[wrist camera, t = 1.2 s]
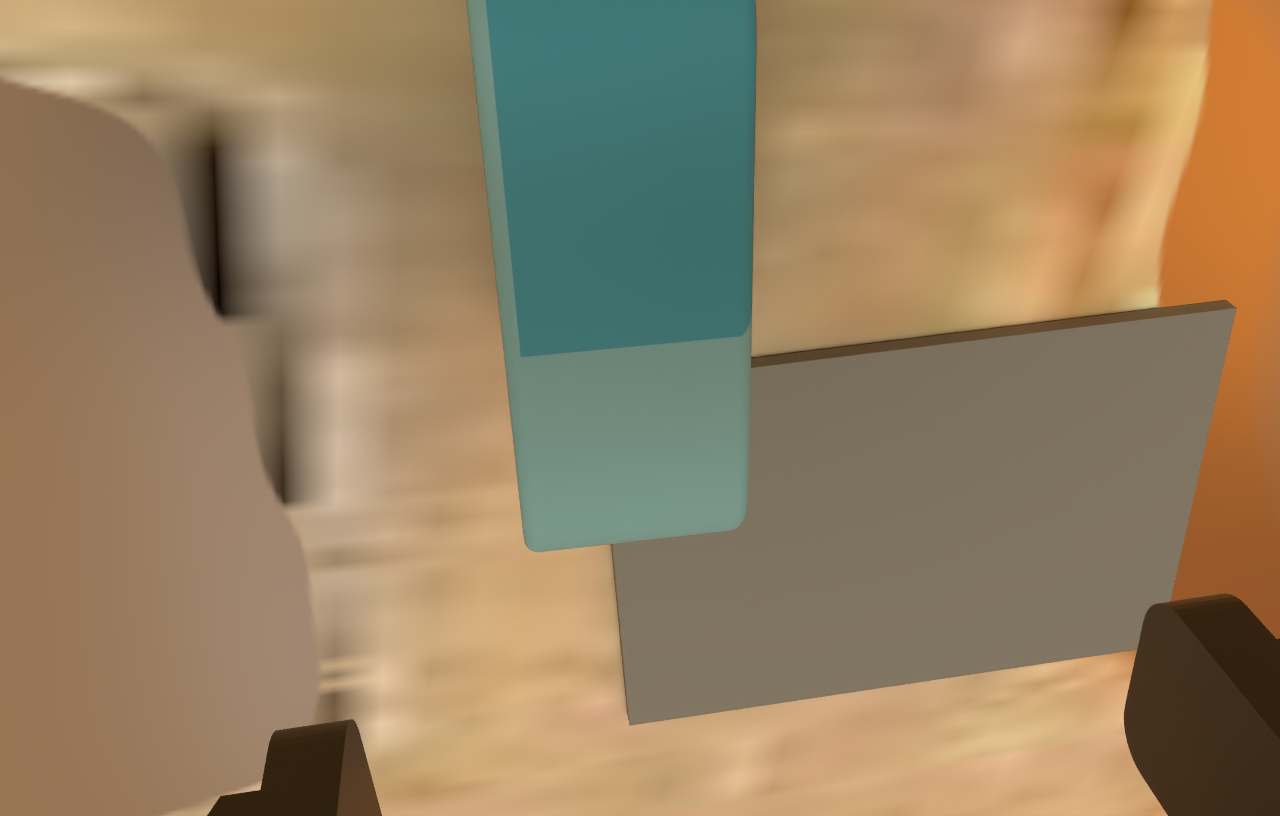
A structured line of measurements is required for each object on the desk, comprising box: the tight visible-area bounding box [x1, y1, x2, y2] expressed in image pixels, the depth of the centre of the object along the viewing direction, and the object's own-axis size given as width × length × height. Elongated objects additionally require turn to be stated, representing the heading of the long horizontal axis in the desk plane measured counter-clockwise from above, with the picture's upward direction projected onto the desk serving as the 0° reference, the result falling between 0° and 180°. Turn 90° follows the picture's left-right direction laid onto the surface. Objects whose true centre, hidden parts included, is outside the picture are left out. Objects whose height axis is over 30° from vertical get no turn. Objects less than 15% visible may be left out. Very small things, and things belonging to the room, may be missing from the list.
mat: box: [611, 300, 1236, 725], centre depth 39 cm, size 14×20×1 cm
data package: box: [466, 0, 757, 552], centre depth 25 cm, size 12×4×12 cm, turn 2°
